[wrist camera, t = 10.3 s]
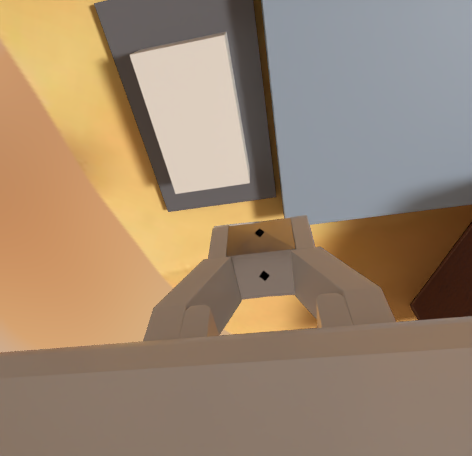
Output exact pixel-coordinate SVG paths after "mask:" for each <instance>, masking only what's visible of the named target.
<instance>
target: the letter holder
mask: <svg viewBox="0 0 472 456" xmlns="http://www.w3.org/2000/svg"><path fill="white" fill-rule="evenodd" d="M410 306H411V309H412V311H413V312H414V314H415V316H416V317H417V319H418V320H428V319H440V318H453V317H465V316H472V223H471V224H470V226H469V227H468V228H467V230H466V231H465V232H464V234H463V235H462V236H461V238H460V239H459V240H458V241H457V243H456V244H455V246H454V247H453V248H452V250H451V251H450V252H449V254H448V255H447V256H446V258H445V259H444V260H443V262H442V263H441V264H440V266H439V267H438V268H437V270H436V271H435V272H434V274H433V275H432V276H431V278H430V279H429V280H428V282H427V283H426V284H425V286H424V287H423V288H422V290H421V291H420V293H419V294H418V295H417V297H416V298H415V299H414V301H413V302H412V303H411V304H410Z"/></svg>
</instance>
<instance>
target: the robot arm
mask: <svg viewBox="0 0 472 456" xmlns="http://www.w3.org/2000/svg"><path fill="white" fill-rule="evenodd" d="M282 295H295V296H296V297H297V298H298V299H299V300H300V302H301V303H302V304H303V305H304V306H305V307H306V308H307V309H308V310H309V312H310V313H311V314H312V315H313V316H314V317H315V318H316V319H317V328H310V329H297V330H284V331H271V332H259V333H246V334H233V335H222V336H219V335H220V334H221V332H222V330H223V329H224V327H225V326H226V324H227V323H228V321H229V320H230V318H231V317H232V315H233V313H234V312H235V310H236V309H237V307H238V306H239V304H240V303H241V300H242V299H250V298H259V297H267V296H282ZM0 456H472V316H465V317H453V318H440V319H428V320H415V321H403V322H396V320H395V318H394V316H393V314H392V311H391V309H390V307H389V305H388V302H387V300H386V298H385V296H384V293H383V291H382V289H381V287H379V286H378V285H376V284H375V283H373V282H372V281H370V280H369V279H367V278H366V277H364V276H363V275H361V274H360V273H358V272H357V271H355V270H354V269H352V268H351V267H349V266H348V265H347V264H345V263H344V262H342V261H341V260H339V259H338V258H336V257H335V256H333V255H332V254H330V253H329V252H327V251H326V250H324V249H323V248H321V247H315V244H314V240H313V236H312V232H311V229H310V225H309V221H308V217H307V216H306V215H302V216H295V217H290V218H284V219H277V220H269V221H262V222H260V221H259V222H249V223H239V224H230V225H221V226H214V228H213V230H212V236H211V243H210V249H209V255H208V259H204V260H203V261H202V262H200V263H199V264H198V265H197V266H196V267H195V268H194V269H193V270H192V271H191V272H190V273H189V274H188V275H187V276H186V277H185V278H184V279H183V280H182V281H181V282H180V283H179V284H178V285H177V286H176V287H175V288H174V289H173V290H172V291H171V292H169V293H168V295H166V296H165V297H164V298H163V299H162V300H161V301H160V302H159V303H158V304H157V305H156V306H155V307H154V308H153V311H152V314H151V317H150V321H149V324H148V327H147V331H146V334H145V337H144V340H143V342H131V343H117V344H105V345H92V346H78V347H66V348H54V349H40V350H27V351H14V352H1V353H0Z"/></svg>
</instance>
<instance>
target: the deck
mask: <svg viewBox="0 0 472 456" xmlns="http://www.w3.org/2000/svg"><path fill="white" fill-rule="evenodd" d="M261 6H262V15H263V25H264V34H265V44H266V53H267V63H268V72H269V81H270V91H271V100H272V110H273V119H274V128H275V138H276V147H277V157H278V166H279V175H280V185H281V194H282V204H283V213H284V218H290V217H295V216H302V215H306V216H307V217H308V221H309V225H311V224H319V223H327V222H335V221H343V220H351V219H359V218H367V217H375V216H383V215H391V214H400V213H408V212H416V211H424V210H432V209H440V208H448V207H456V206H464V205H472V0H261Z"/></svg>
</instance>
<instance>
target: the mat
mask: <svg viewBox="0 0 472 456" xmlns="http://www.w3.org/2000/svg"><path fill="white" fill-rule="evenodd" d="M94 5H95V8H96V11H97V13H98V16H99V19H100V22H101V25H102V27H103V30H104V33H105V36H106V39H107V41H108V44H109V47H110V50H111V53H112V55H113V58H114V61H115V64H116V67H117V70H118V72H119V75H120V78H121V81H122V84H123V86H124V89H125V92H126V95H127V98H128V100H129V103H130V106H131V109H132V112H133V114H134V117H135V120H136V123H137V126H138V128H139V131H140V134H141V137H142V140H143V142H144V145H145V148H146V151H147V154H148V156H149V159H150V162H151V165H152V168H153V171H154V173H155V176H156V179H157V182H158V185H159V187H160V190H161V193H162V196H163V199H164V201H165V204H166V207H167V210H168V212H171V211H179V210H186V209H193V208H200V207H208V206H215V205H222V204H230V203H237V202H244V201H251V200H259V199H266V198H273V197H276V190H275V182H274V174H273V165H272V157H271V148H270V140H269V131H268V123H267V114H266V106H265V97H264V89H263V80H262V72H261V63H260V55H259V46H258V38H257V29H256V21H255V12H254V4H253V0H107V1H103V2H98V3H94ZM222 32H227V38H228V44H229V50H230V56H231V62H232V68H233V74H234V80H235V86H236V92H237V97H238V103H239V109H240V115H241V121H242V127H243V133H244V139H245V145H246V151H247V157H248V163H249V169H250V183H247V184H241V185H234V186H227V187H220V188H213V189H207V190H200V191H193V192H186V193H179V194H175V191H174V188H173V185H172V182H171V179H170V176H169V173H168V170H167V167H166V164H165V161H164V158H163V155H162V152H161V149H160V146H159V143H158V140H157V137H156V134H155V131H154V128H153V125H152V122H151V119H150V116H149V113H148V110H147V107H146V104H145V101H144V98H143V94H142V91H141V88H140V85H139V82H138V79H137V76H136V73H135V70H134V67H133V64H132V61H131V58H130V54H132V53H134V52H136V51H138V50H141V49H146V48H150V47H155V46H160V45H165V44H170V43H174V42H179V41H184V40H189V39H193V38H198V37H203V36H208V35H213V34H217V33H222Z"/></svg>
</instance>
